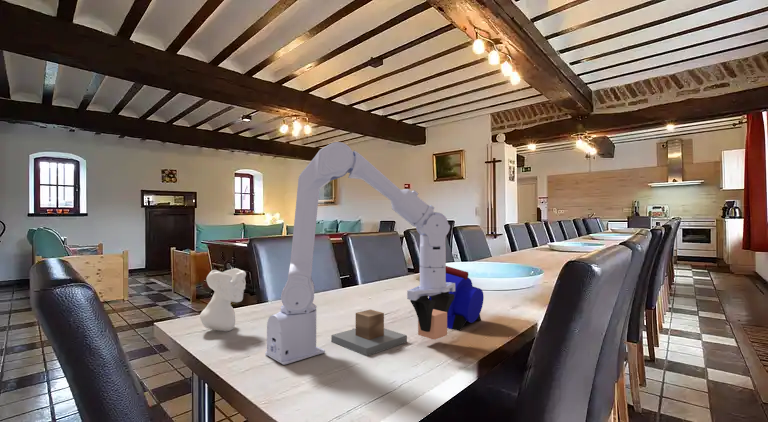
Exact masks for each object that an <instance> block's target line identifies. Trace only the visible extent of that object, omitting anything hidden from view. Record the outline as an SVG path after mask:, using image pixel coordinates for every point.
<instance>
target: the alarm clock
mask: <svg viewBox="0 0 768 422" xmlns="http://www.w3.org/2000/svg"><path fill="white" fill-rule="evenodd" d="M446 282H451V283H455V291H454V292H451V291H450V292H449V294H454V300H453V301H452V303H451V305H450V308H449V310H448V313H447V329H450V330H452V331H453V330H454V331H461V330H462V329H463V327H464V326H465V324H466V323H467V322H468V323H470V324H472V323H474V322H476V321H482V319H481V312H482V309H483V305H484V292H483V290H482V288H479V287H476V286H473V282H472V279H471V278H470V277H469V272H468V271H464V270H462V269H458V268H456V267H455V268H454V267H451V266H448V265H446ZM428 298H430V300H431V297H430V296H428Z"/></svg>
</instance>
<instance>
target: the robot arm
mask: <svg viewBox="0 0 768 422" xmlns="http://www.w3.org/2000/svg"><path fill="white" fill-rule="evenodd" d="M348 173H349V174H348ZM347 174H348V178H349V179H356V180H362V181H364V182H365V183H366V184H367V185H368V186H370V187H372V188H373V189H374V190H375V191H377V192H378V193H380V194H381V195H382V196H383V197H385V198H387V199H388V200H389V201H390V205H391V209H392V210H393V211H394V212H395V213H396V214H397V215H398V216H400V217H401V218H402V219H404V221H406V222H407V223H409V224H410V225H411V226H412V227H413V228H416V232H417V233H418V234H419V285H417V286H415V287H413V288H411V289H407V290H406V291H407V292H406V294H407V295H406V297H407V300H409V302H410V303H411V305H412V307H413V309H414V311H415V313H416V316H417V321H418V320H419V324H420V328H421V330H422V331H426V332H430V328H431V318H432V312H433V309H435V310H439V311H444V312H447V313H448V310H449V308H450V305H451V303H452V301H453V300H454V294H449V292H450V291H451V292H454V291H455V283H451V282H446V266H447V265H446V264H447V261H446V259H447V258H446V257H447V256H446V255H447V253H446V252H447V251H446V249H447V248H446V247H447V246H446V237H447V235H448V233H449V232H450V229H451V225H450V224H449V221H448V219H447V217H446V216H445V215H444V214H443V213H440V212H437V211H436V212H435V211H434V210H435V207H434V206H433V205H432V204H430V205H429V204H427V203H426V202H425V201H424V200H423V199H421V198H420V197H419V196H418V195H419V193H418V192H417V191H416V190H411V189H409V188H403V189H401V188H399V187H398V186H397V185H396V184H395V183H394V182H393V181H391V180H390V179H389V178H388V177H387V176H386V175H385V174H383V173H382V172H381V170H379V169H378V168H376V167H375V165H373V164H372V163H371V162H370V161H369V160H368V159H366V158H365V157H364V156H363V155H362V154H360V153H359V152H358V151H356V150H352V148H351V147H350V146H349V145H348V144H346V143H345V142H341V141H335V142H332V143H329V144H328V145H326V146H324V147H323V148H320V149H319V150H318V152H317V153H316V154H315V156H314V157H313V158H312V159H311V161H310V162H309V163H308V164H307V166H306V167H305V168H304V169H303V170H302V171H301V173H299V176H298V179H297V180H298V181H297V191H296V202H295V210H294V211H295V212H294V219H293V220H294V223H293V229H292V230H293V231H292V232H293V233H292V244H291V253H290V264H289V269H288V274H287V275H288V276H287V281H286V282H285V285H284V287H283V289H282V290H281V295H280V301H281V303H282V305H281V306H280V311H278V312H277V313H274V314H272V315H270V316H269V317H268V319H267V322H266V351H265V352H264V354H265V355H266V356H267V357H269V358H271V359H272V360H274V361H277V362H278V363H280V364H282V365H288V364H292V363H294V362H298V361H302V360H304V359H308V358H312V357H314V356H319V355H321V354H324V353H325V352H326V351H325V349H323V348H322V347H319V346H317V305H316V304H315V303H314V299H315V283H314V281H313V278H312V273H313V262H314V261H313V259H314V252H315V251H314V249H315V238H316V237H315V236H316V229H317V227H316V226H317V217H318V207H319V198H320V197H319V196H320V195H319V194H320V190H321V189H322V188H323V187H324V186H326V185H327V184H329V183H330V182H331V181H335V180H337V179H340V178H343V177H344V176H346V175H347ZM429 296H430V297H431V300H430V298H429Z"/></svg>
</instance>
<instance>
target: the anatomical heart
mask: <svg viewBox="0 0 768 422" xmlns="http://www.w3.org/2000/svg"><path fill="white" fill-rule="evenodd" d="M246 276H247V272H246V271H245V270H241V269H239V268H236V267H235V268H230V269H228V270H224V271H220V270H217V269H212V270H211V271H210V272H209V273H208V274H207V276H206V279H205V280H206V283H207V284H206V285H207V286H208V287H209V288H210V289H211V290H213V291H214V292H213V295H212V297H211V299H210V301H209V302H208V303H207V305H206V307H205V308H203V310H202V311H201V312H200V314H199V319H200V322H201V324H202V325H203V327H204V328H206V329H208V330H214V331H220V332H230V331H232V330H233V329H234V328H235V325H236V312H235V309H234V308H233V306H232V305H231V303H232V302H233V303H240V302H242V301H243V299H244V292H245V290H246V285H247V284H246Z"/></svg>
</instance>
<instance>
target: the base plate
mask: <svg viewBox="0 0 768 422" xmlns="http://www.w3.org/2000/svg"><path fill="white" fill-rule="evenodd" d="M330 336H331V341H330V342H331V343H333V344H336V345H338V346H341V347H344V348H346V349H349V350H350V351H353V352H356V353H358V354H361V355H363V356H365V357H368V356H371V355H374V354H376V353H379V352H383V351H385V350H388V349H391V348H394V347H397V346H400V345H403V344H406V343H408V335H407V334H404V333H401V332H397V331H394V330H390V329H387V328H385V327H384V336H381V337H377V338H374V339H371V340H367V339H364V338H362V337H359V336H356V328H352V329H348V330H345V331H341V332H338V333H334V334H331V335H330Z"/></svg>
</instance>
